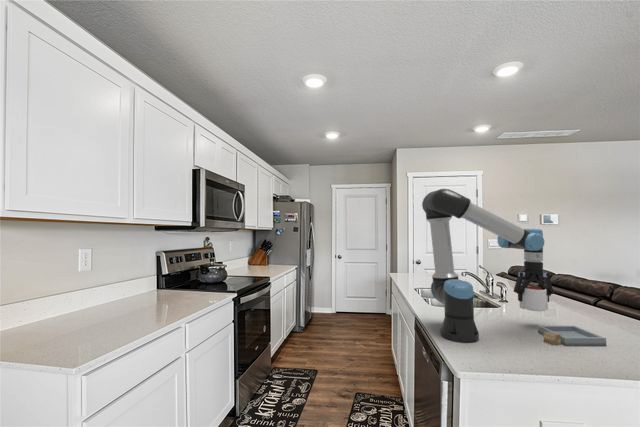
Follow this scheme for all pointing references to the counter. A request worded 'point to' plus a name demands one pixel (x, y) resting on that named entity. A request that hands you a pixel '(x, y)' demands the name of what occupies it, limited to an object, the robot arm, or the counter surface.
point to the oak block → (552, 338)
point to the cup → (535, 298)
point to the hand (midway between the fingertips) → (533, 308)
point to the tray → (574, 336)
